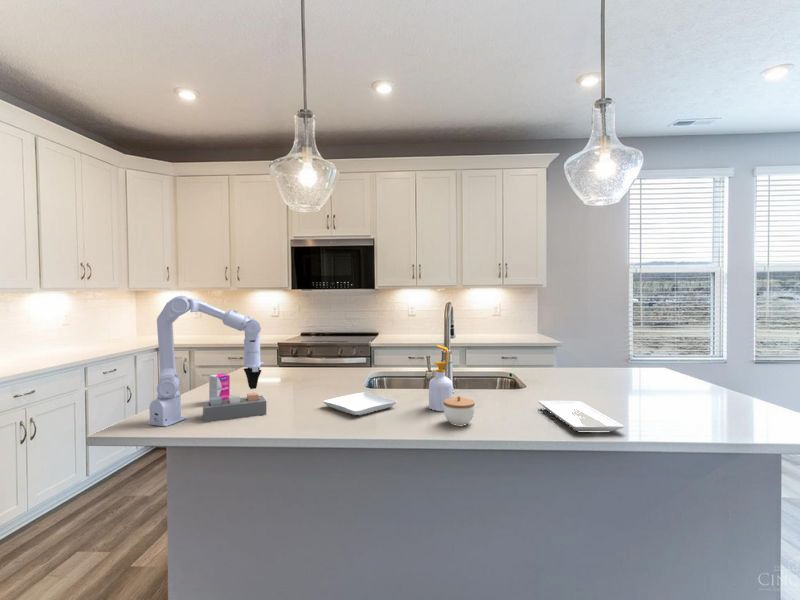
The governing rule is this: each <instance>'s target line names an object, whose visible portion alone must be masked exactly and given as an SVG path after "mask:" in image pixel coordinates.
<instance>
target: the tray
mask: <svg viewBox="0 0 800 600" xmlns="http://www.w3.org/2000/svg"><path fill="white" fill-rule="evenodd" d="M538 404H540V405H541V406H542V407H543V408H544V409H545V410H547V411H548V412H549V411H550V412H551V413H550V412H549V413H550V414H552V415H553V414H554V415H555V418H557V417H558V419H559V420H560V419H561V420H562V421H561V420H560V421H561V422H562V423H564V422H565V423H566V424H565V423H564V424H565V425H567V424H568V425H569V426H568V425H567V426H568V427H569V428H571V427H572V428H573V429H572V428H571V429H572V430H573V431H575V430H576V431H611V432H615V431H618V430H621V429H623V428H624V429H625V425H624V424H622V423H619V422H618V421H616V420H614V419H612V418H611V417H609V416H607V415H605V414H603V413H602V412H600V411H598V410H597V409H595V408H593V407H592V406H589V405H587V404H586V403H585V402H583V401H580V400H538ZM574 409H575V411H577V410H579V411H580V412H583V413H584V414H586V415H588V416H590V417H592V418H594V419H595V420H598V421H600V422H601V423H603V424H604V425H606V426H585V425H583V424H582V423H581V421H580V419H579V418H581V416H579V417H578V416H577V415H575V414H574V415H575V416H574V415H573V414H572V412H573V413H574V412H575V411H574ZM576 409H577V410H576ZM580 412H579V413H580ZM576 413H577V412H576ZM577 414H578V413H577ZM554 415H553V416H554ZM583 418H584V417H583ZM581 419H582V418H581ZM584 419H585V418H584ZM614 430H615V431H614ZM576 431H575V432H576Z"/></svg>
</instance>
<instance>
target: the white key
mask: <svg viewBox="0 0 800 600" xmlns="http://www.w3.org/2000/svg"><path fill="white" fill-rule="evenodd" d="M240 398H241V395H240V394H233V395H230V396H229V404H232V403H240Z"/></svg>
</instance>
